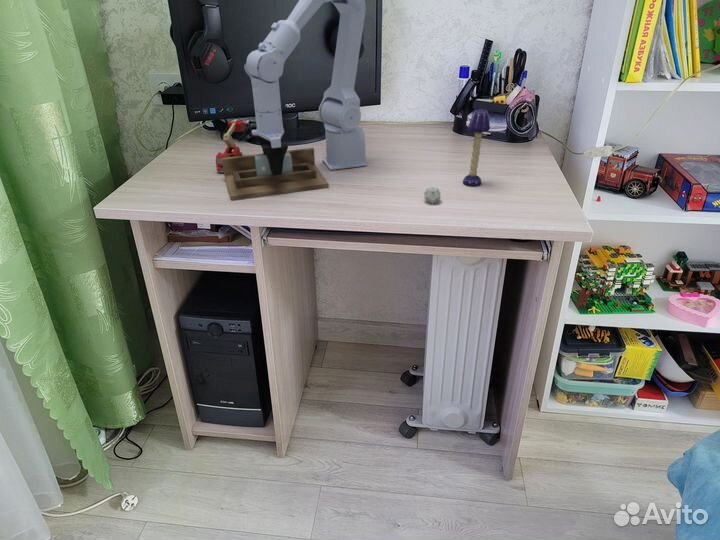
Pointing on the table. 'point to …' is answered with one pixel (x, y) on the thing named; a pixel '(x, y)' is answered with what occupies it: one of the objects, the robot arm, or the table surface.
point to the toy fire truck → (230, 144)
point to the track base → (250, 185)
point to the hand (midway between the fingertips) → (274, 168)
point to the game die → (432, 195)
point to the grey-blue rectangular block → (264, 167)
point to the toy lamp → (476, 144)
